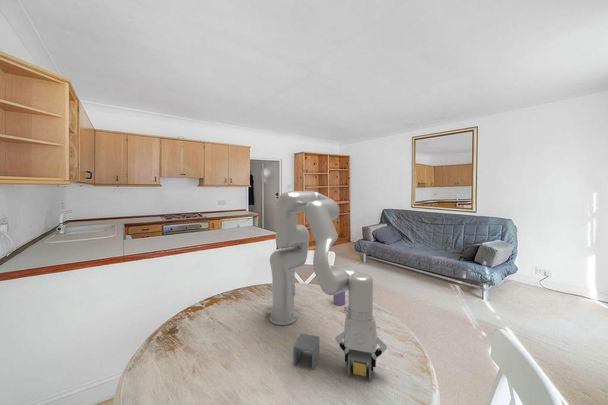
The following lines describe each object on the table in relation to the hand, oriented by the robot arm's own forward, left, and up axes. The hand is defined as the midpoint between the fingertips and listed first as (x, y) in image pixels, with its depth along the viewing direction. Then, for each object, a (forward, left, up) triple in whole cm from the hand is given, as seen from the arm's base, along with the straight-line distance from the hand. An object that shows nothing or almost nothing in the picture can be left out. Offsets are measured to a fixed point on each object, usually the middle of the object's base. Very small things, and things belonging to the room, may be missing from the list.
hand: (360, 365), depth 80 cm
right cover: (0, 0, -2) cm, 2 cm away
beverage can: (-14, +45, -2) cm, 47 cm away
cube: (0, 0, -2) cm, 2 cm away
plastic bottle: (-42, +47, -2) cm, 63 cm away
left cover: (-18, 0, -2) cm, 18 cm away
